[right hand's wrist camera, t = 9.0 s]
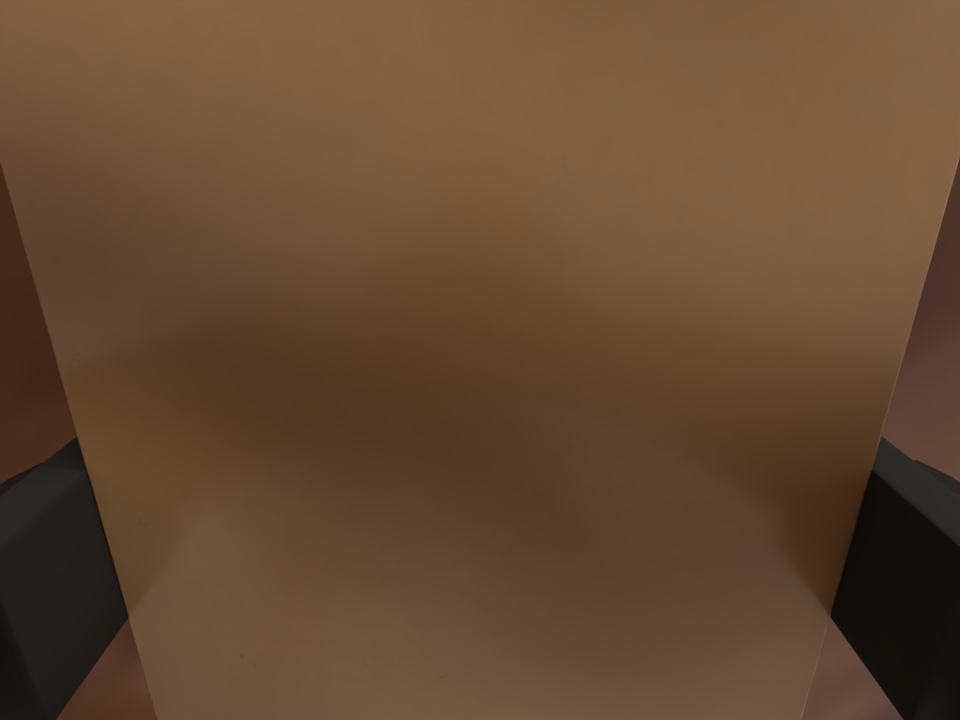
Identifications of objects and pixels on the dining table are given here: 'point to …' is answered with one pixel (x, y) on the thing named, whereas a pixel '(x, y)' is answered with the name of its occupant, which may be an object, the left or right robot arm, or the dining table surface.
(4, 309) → the dining table surface
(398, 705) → the wooden block
